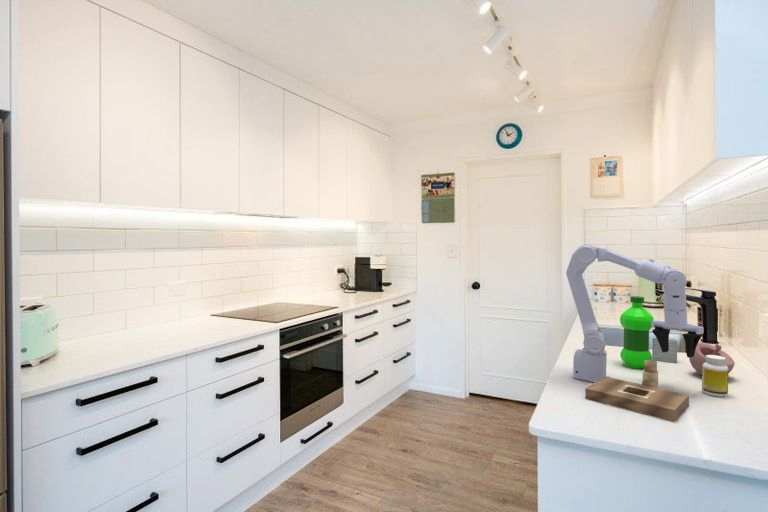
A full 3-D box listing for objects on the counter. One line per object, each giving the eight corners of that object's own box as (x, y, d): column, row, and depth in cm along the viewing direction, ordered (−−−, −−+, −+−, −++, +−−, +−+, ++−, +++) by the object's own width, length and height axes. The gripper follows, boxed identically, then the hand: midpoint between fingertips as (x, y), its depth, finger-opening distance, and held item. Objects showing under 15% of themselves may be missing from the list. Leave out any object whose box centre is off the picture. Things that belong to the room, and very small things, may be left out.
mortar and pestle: (719, 385, 137) (720, 348, 136) (680, 374, 148) (681, 340, 147) (742, 379, 142) (743, 344, 141) (702, 369, 153) (703, 337, 152)
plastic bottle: (655, 372, 150) (657, 299, 149) (621, 368, 154) (622, 298, 152) (649, 363, 159) (651, 295, 158) (616, 361, 163) (618, 294, 162)
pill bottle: (732, 398, 126) (733, 360, 125) (708, 396, 127) (709, 359, 127) (720, 390, 132) (721, 354, 131) (697, 389, 133) (698, 353, 133)
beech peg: (640, 390, 132) (641, 361, 132) (644, 387, 135) (645, 358, 134) (655, 394, 129) (656, 364, 129) (659, 390, 132) (660, 361, 132)
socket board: (585, 398, 126) (585, 387, 126) (604, 386, 136) (604, 376, 136) (674, 421, 110) (674, 409, 110) (689, 405, 120) (689, 394, 120)
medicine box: (676, 360, 164) (677, 337, 163) (677, 363, 160) (677, 340, 159) (652, 357, 168) (652, 335, 167) (651, 360, 164) (652, 337, 164)
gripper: (709, 310, 127) (711, 357, 127) (660, 305, 140) (663, 347, 140) (693, 313, 124) (696, 360, 124) (645, 308, 137) (648, 351, 138)
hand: (677, 354), depth 132 cm, fingers open, 7 cm apart
